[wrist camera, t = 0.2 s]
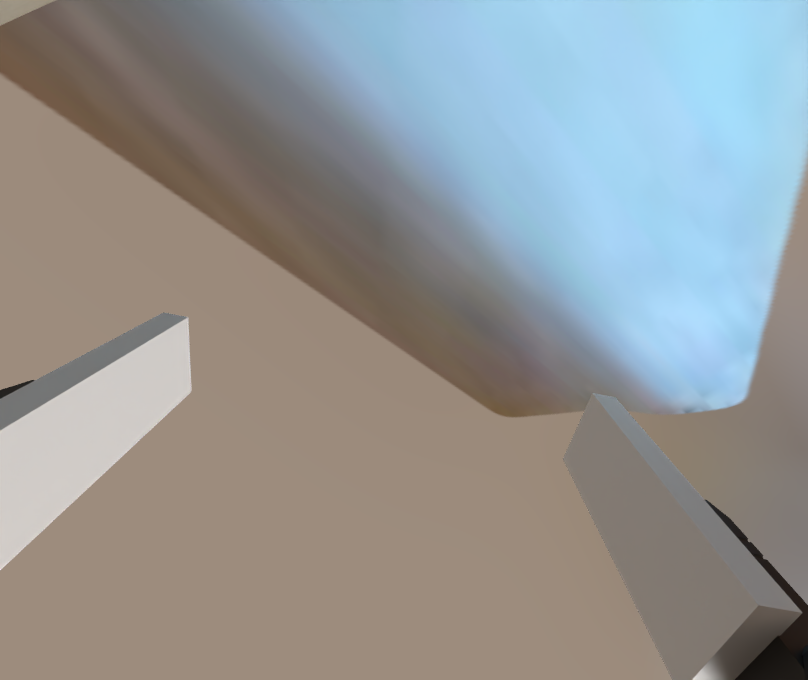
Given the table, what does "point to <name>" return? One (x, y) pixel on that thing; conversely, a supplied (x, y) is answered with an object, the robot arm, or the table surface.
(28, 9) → the travel mug
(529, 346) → the table surface
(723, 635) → the robot arm
